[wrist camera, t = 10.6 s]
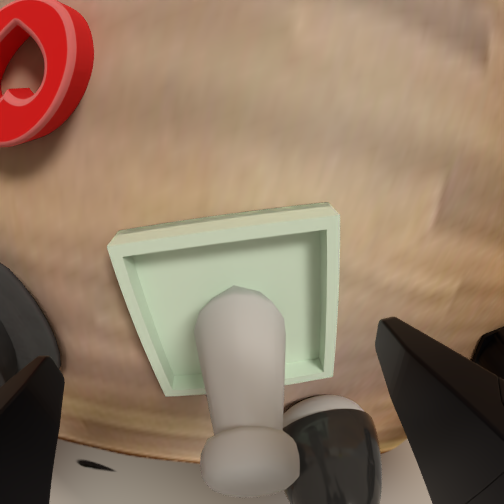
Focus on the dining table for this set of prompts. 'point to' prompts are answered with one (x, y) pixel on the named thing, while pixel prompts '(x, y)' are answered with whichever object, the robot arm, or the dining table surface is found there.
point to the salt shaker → (245, 395)
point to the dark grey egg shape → (334, 452)
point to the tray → (225, 276)
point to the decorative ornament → (55, 72)
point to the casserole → (21, 328)
